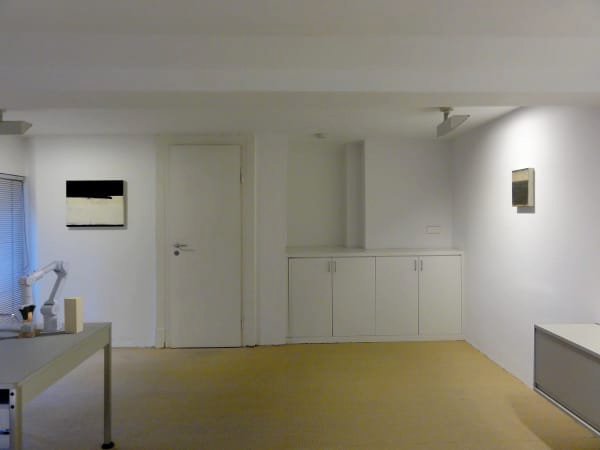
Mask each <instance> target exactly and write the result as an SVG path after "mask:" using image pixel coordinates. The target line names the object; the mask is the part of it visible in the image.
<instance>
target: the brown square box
mask: <svg viewBox="0 0 600 450" xmlns="http://www.w3.org/2000/svg"><path fill="white" fill-rule="evenodd" d="M40 334H41V329H40V328H37V330H35V331H33V332H23V333H21V331H20V332H18V339H27V338H29V339H32V338H35V337H37V336H39V335H40Z"/></svg>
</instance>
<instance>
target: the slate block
mask: <svg viewBox="0 0 600 450" xmlns="http://www.w3.org/2000/svg"><path fill="white" fill-rule="evenodd" d="M37 324H38V323H26V324H24V325H22V326H20V332H21V333H23V332H33V331H35V330H37V329H38V327H37Z"/></svg>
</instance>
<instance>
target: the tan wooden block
mask: <svg viewBox="0 0 600 450" xmlns="http://www.w3.org/2000/svg"><path fill="white" fill-rule="evenodd" d="M63 305H64V306H63V307H64V308H63V309H64V311H63V312H64V333H65V334H78V333H80V332H83V331H84V315H83V313H84V312H83V310H84V309H83V297H82V296H69V297H66V298H64V301H63Z"/></svg>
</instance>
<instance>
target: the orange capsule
mask: <svg viewBox="0 0 600 450" xmlns="http://www.w3.org/2000/svg"><path fill="white" fill-rule="evenodd" d="M32 321H33V316H32V312H29V313H28V320H23V323H30V322H32Z"/></svg>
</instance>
